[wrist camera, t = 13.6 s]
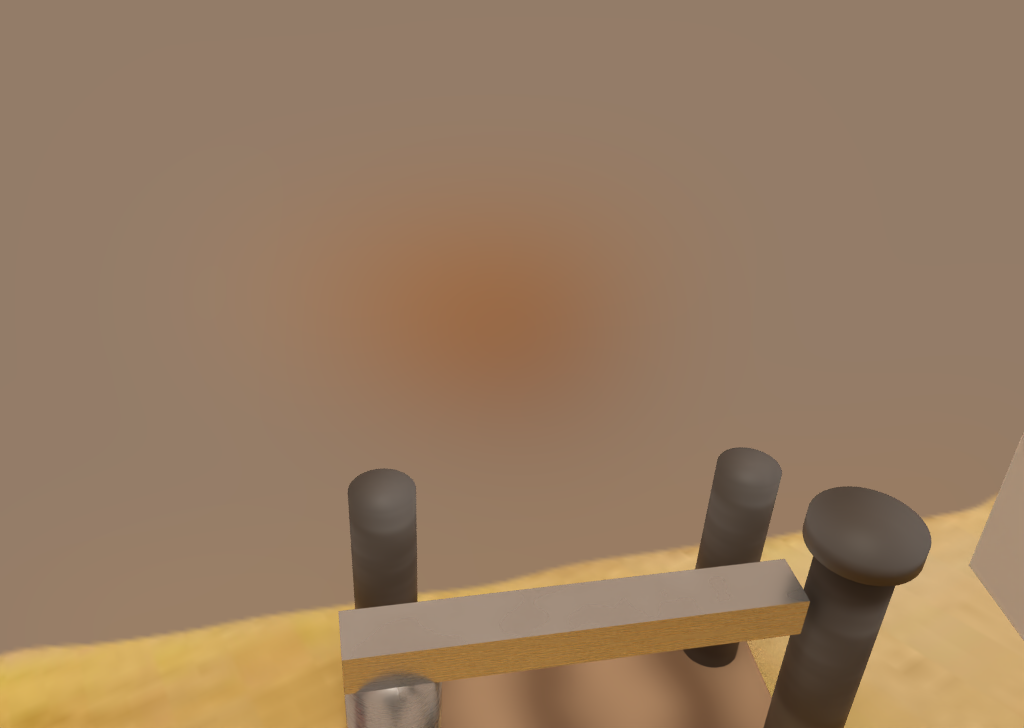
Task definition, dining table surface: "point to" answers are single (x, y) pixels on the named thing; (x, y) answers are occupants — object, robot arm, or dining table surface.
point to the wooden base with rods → (697, 671)
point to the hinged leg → (551, 632)
